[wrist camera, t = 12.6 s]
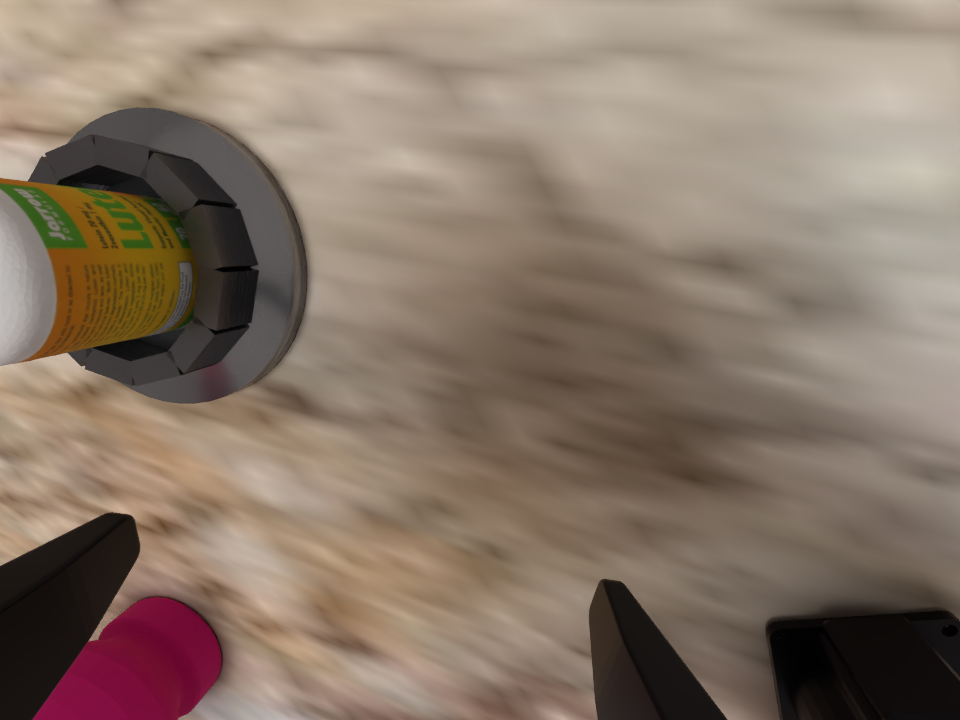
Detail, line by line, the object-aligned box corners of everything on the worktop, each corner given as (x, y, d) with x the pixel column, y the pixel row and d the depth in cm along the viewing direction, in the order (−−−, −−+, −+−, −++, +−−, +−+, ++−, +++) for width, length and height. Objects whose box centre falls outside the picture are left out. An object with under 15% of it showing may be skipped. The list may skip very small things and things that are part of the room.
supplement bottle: (238, 236, 19) (-91, 225, 10) (199, 352, 20) (-116, 440, 11) (125, 173, 19) (-300, 103, 10) (95, 292, 21) (-295, 328, 11)
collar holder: (342, 367, 21) (301, 388, 18) (127, 415, 23) (60, 440, 20) (251, 73, 18) (186, 38, 15) (27, 165, 21) (-65, 151, 18)
